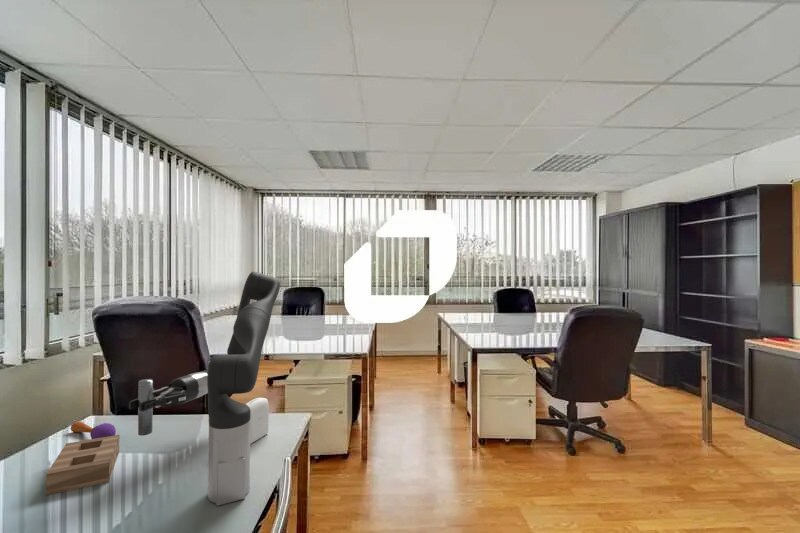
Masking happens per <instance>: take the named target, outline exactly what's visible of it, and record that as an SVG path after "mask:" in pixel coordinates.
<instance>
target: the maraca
mask: <svg viewBox="0 0 800 533" xmlns="http://www.w3.org/2000/svg"><path fill="white" fill-rule="evenodd" d="M70 431H71V432H73V433H89V434H90V439H96V438H102V437H108V436H114V435H116V434H117V431H116V427H115V425H114V424H111V423H109V422H108V423H107V422H103V423H100V424H99V425H96V426H93V427H91V426H89V425H88V424H86V423H84V422H82V421H80V420H77V421H75V422H73V423H72V424H71V426H70Z"/></svg>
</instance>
